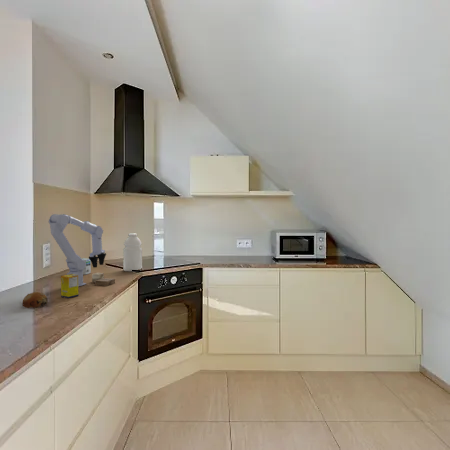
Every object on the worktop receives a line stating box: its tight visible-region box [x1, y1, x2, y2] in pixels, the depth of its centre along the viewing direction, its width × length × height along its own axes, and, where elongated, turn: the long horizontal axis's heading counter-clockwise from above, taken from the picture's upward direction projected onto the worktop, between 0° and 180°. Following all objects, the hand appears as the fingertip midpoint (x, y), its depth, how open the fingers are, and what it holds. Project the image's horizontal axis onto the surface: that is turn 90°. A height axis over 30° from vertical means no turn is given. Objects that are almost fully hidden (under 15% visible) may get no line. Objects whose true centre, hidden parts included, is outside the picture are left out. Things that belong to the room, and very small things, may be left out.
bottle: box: [122, 232, 143, 272], centre depth 249 cm, size 14×14×28 cm
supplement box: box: [60, 274, 79, 299], centre depth 166 cm, size 6×6×11 cm
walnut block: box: [95, 277, 116, 287], centre depth 197 cm, size 8×8×3 cm
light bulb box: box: [81, 257, 92, 275], centre depth 231 cm, size 11×7×11 cm, turn 84°
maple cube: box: [91, 272, 105, 283], centre depth 205 cm, size 5×5×5 cm
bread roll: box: [21, 291, 49, 309], centre depth 150 cm, size 10×10×8 cm
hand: (98, 266), depth 205 cm, fingers open, 7 cm apart
